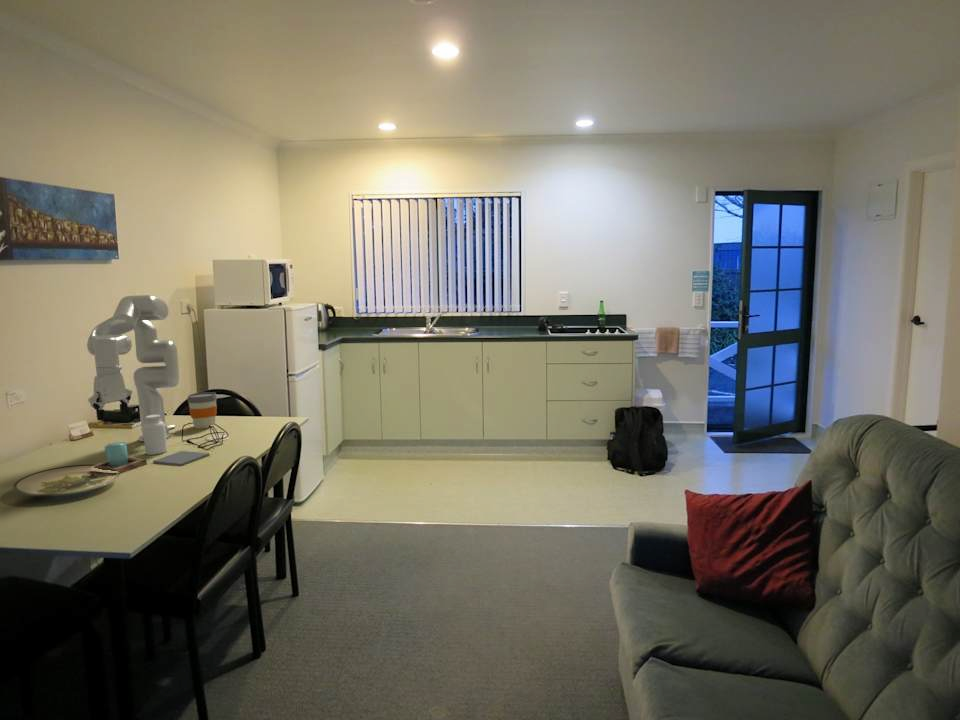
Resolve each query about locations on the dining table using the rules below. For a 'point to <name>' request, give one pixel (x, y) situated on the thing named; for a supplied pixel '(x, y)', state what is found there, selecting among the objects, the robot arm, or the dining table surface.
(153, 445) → the pill bottle
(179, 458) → the plate
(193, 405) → the reusable coffee cup
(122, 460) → the turquoise mug
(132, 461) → the brown square tray
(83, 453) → the dining table surface
